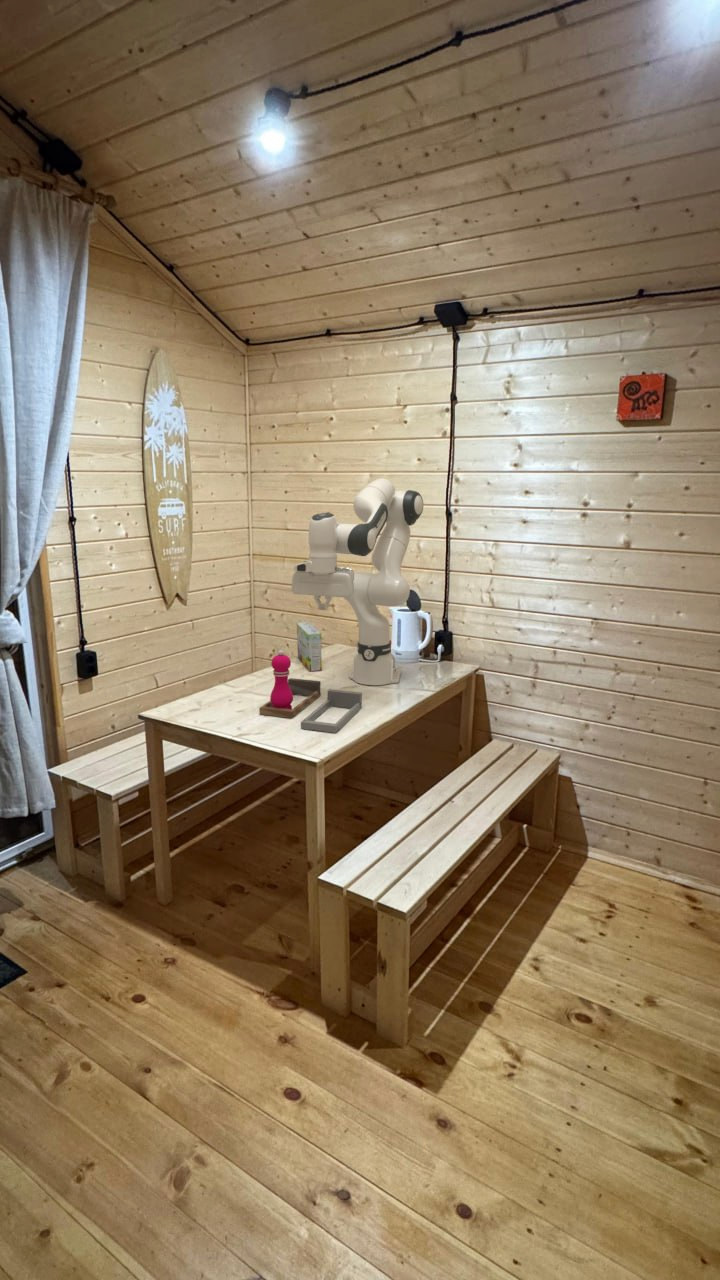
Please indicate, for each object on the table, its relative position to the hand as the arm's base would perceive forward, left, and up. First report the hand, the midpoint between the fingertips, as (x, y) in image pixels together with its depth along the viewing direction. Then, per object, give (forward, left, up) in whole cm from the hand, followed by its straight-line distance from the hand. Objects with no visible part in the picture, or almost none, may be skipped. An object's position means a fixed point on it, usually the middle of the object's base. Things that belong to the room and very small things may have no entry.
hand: (322, 609), depth 220 cm
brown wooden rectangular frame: (+6, -9, -31) cm, 33 cm away
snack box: (-42, -22, -31) cm, 57 cm away
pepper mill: (+13, -9, -31) cm, 35 cm away
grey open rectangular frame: (+13, +8, -31) cm, 35 cm away
